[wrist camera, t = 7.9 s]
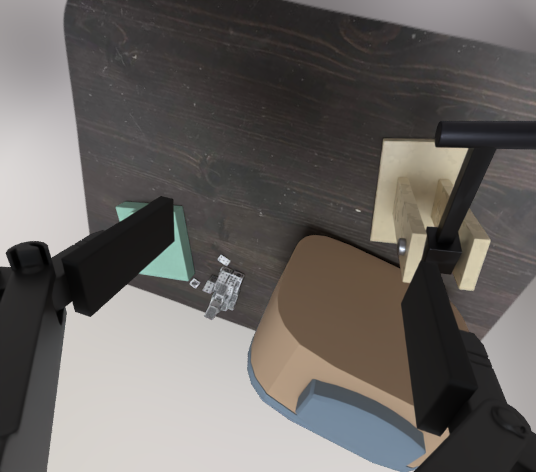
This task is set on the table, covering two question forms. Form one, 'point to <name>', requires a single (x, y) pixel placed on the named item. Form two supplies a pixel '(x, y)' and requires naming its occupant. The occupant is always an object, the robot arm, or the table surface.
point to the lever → (469, 177)
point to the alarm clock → (342, 353)
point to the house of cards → (222, 289)
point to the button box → (176, 255)
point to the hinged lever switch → (423, 205)
